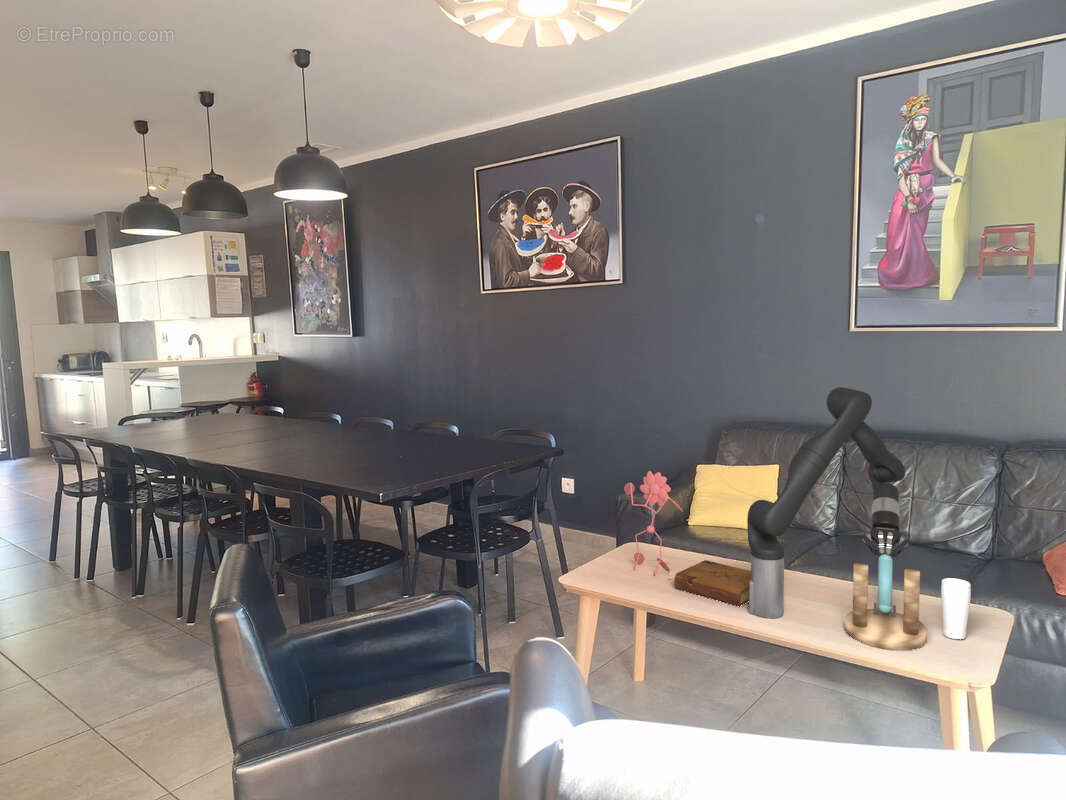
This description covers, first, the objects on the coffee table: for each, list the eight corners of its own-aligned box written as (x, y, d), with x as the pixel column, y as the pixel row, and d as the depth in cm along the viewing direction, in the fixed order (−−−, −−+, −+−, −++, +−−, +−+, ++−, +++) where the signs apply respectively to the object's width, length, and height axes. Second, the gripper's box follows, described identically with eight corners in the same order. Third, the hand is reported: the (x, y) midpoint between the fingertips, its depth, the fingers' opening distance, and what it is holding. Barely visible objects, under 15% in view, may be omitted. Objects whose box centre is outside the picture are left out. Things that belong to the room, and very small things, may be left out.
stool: (842, 642, 184) (843, 570, 182) (845, 614, 202) (847, 549, 200) (929, 656, 175) (931, 581, 173) (924, 626, 193) (926, 557, 191)
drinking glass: (936, 636, 186) (938, 582, 184) (943, 629, 191) (945, 576, 189) (965, 644, 181) (967, 588, 180) (972, 636, 186) (974, 581, 184)
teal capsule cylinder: (877, 611, 193) (878, 552, 199) (877, 613, 196) (878, 555, 202) (892, 613, 191) (892, 553, 197) (891, 615, 194) (892, 556, 200)
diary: (674, 591, 225) (674, 574, 225) (705, 576, 238) (705, 560, 238) (739, 609, 209) (739, 590, 208) (768, 592, 222) (768, 574, 221)
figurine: (673, 582, 231) (674, 479, 228) (614, 565, 250) (614, 469, 247) (700, 572, 241) (701, 473, 238) (641, 556, 260) (641, 464, 257)
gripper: (861, 507, 211) (859, 558, 202) (910, 511, 205) (911, 564, 196) (861, 520, 217) (859, 570, 207) (909, 524, 211) (910, 576, 201)
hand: (884, 567), depth 201 cm, fingers closed
